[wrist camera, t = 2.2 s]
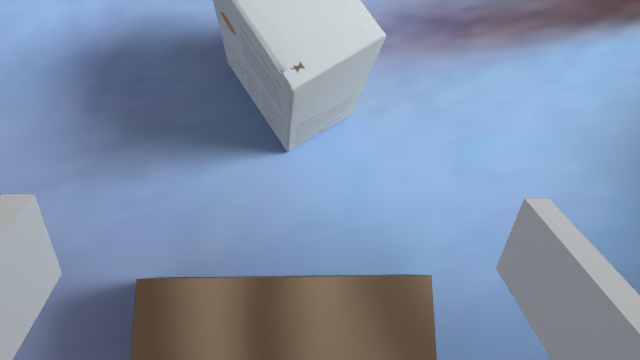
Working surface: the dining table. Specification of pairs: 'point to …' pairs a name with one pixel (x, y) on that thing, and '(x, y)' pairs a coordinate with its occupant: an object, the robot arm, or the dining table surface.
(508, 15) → the dining table surface
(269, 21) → the small box
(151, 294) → the walnut block
